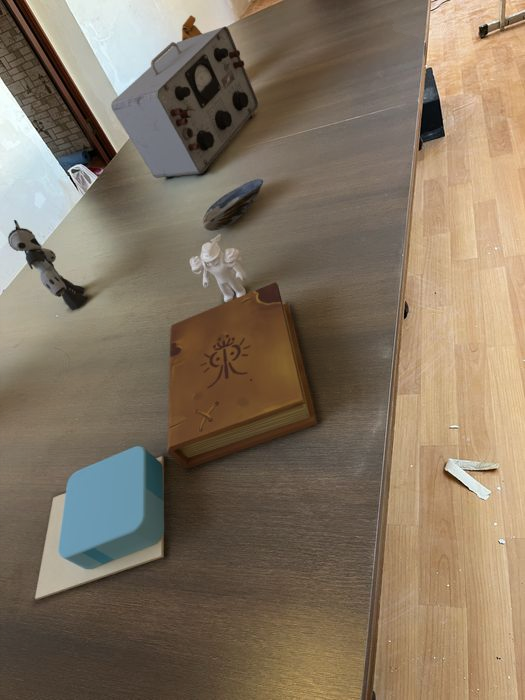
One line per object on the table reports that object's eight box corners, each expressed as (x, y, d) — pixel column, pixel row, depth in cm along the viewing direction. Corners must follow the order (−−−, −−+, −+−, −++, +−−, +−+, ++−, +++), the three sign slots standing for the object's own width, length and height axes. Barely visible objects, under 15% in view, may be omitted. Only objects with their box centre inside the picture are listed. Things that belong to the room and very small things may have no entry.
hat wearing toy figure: (260, 282, 85) (230, 227, 77) (256, 298, 83) (225, 243, 74) (214, 292, 89) (181, 240, 80) (210, 307, 86) (175, 256, 78)
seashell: (262, 230, 96) (252, 209, 92) (206, 245, 100) (194, 226, 97) (272, 187, 105) (263, 166, 102) (220, 202, 110) (210, 183, 107)
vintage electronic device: (209, 179, 120) (154, 77, 103) (158, 184, 131) (101, 92, 114) (267, 108, 135) (227, 8, 118) (217, 118, 145) (174, 27, 128)
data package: (80, 573, 61) (165, 541, 59) (55, 561, 58) (144, 526, 56) (88, 488, 69) (162, 457, 67) (67, 474, 66) (144, 441, 64)
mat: (37, 600, 61) (34, 599, 61) (55, 498, 71) (53, 497, 71) (163, 557, 58) (161, 555, 58) (164, 457, 68) (162, 455, 68)
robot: (61, 286, 115) (-3, 217, 101) (79, 274, 115) (17, 204, 102) (74, 327, 100) (1, 253, 87) (94, 313, 101) (24, 237, 87)
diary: (185, 349, 81) (167, 326, 78) (289, 307, 78) (276, 281, 74) (185, 469, 65) (162, 448, 61) (317, 424, 61) (302, 398, 57)
